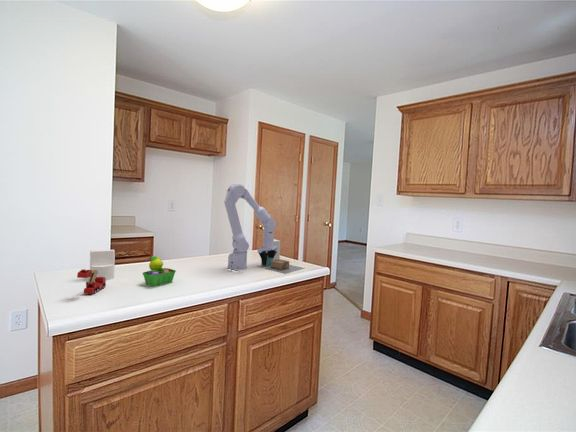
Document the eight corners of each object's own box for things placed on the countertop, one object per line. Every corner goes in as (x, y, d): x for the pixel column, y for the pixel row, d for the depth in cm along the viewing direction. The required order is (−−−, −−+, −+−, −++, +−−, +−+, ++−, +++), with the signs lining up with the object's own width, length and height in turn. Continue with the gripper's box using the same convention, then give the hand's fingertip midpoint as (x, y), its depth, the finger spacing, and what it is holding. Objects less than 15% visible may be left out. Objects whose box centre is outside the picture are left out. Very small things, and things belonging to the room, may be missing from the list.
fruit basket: (152, 288, 121) (153, 260, 121) (139, 284, 126) (139, 257, 125) (176, 282, 131) (177, 256, 130) (163, 278, 136) (164, 253, 135)
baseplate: (285, 275, 151) (285, 273, 151) (263, 270, 159) (264, 268, 159) (305, 269, 165) (305, 268, 165) (285, 265, 174) (285, 263, 174)
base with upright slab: (88, 281, 125) (88, 253, 124) (91, 276, 133) (91, 249, 132) (113, 280, 129) (114, 252, 129) (114, 274, 137) (115, 248, 137)
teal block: (267, 268, 164) (267, 259, 164) (261, 266, 167) (261, 257, 167) (272, 266, 168) (273, 257, 167) (266, 265, 170) (267, 256, 170)
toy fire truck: (106, 287, 120) (107, 262, 119) (86, 298, 106) (87, 271, 106) (97, 286, 120) (98, 262, 119) (76, 298, 106) (76, 271, 106)
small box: (279, 262, 180) (280, 240, 179) (271, 263, 176) (272, 241, 175) (271, 259, 186) (272, 238, 185) (263, 260, 182) (264, 239, 181)
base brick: (280, 270, 157) (281, 263, 157) (270, 268, 161) (270, 260, 161) (289, 268, 163) (289, 261, 162) (278, 266, 167) (279, 258, 166)
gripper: (265, 241, 158) (263, 267, 159) (282, 239, 170) (281, 263, 171) (255, 240, 162) (253, 265, 163) (272, 237, 174) (271, 261, 175)
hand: (267, 264), depth 167 cm, fingers closed on teal block, 4 cm apart
